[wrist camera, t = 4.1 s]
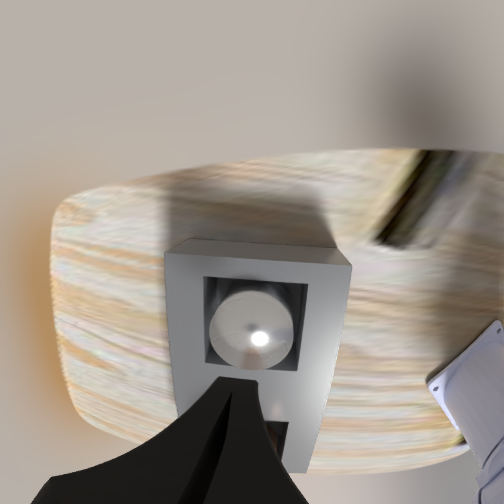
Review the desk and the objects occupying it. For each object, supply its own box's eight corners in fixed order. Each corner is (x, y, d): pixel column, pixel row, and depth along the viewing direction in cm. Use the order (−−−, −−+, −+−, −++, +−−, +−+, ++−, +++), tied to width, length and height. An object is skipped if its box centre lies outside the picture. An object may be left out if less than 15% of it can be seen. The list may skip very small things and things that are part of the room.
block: (304, 437, 21) (305, 473, 17) (197, 427, 21) (185, 460, 18) (337, 248, 17) (352, 265, 13) (188, 238, 18) (164, 253, 14)
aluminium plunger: (288, 336, 18) (289, 373, 14) (224, 330, 18) (210, 365, 14) (294, 274, 17) (297, 300, 13) (225, 269, 17) (208, 293, 13)
